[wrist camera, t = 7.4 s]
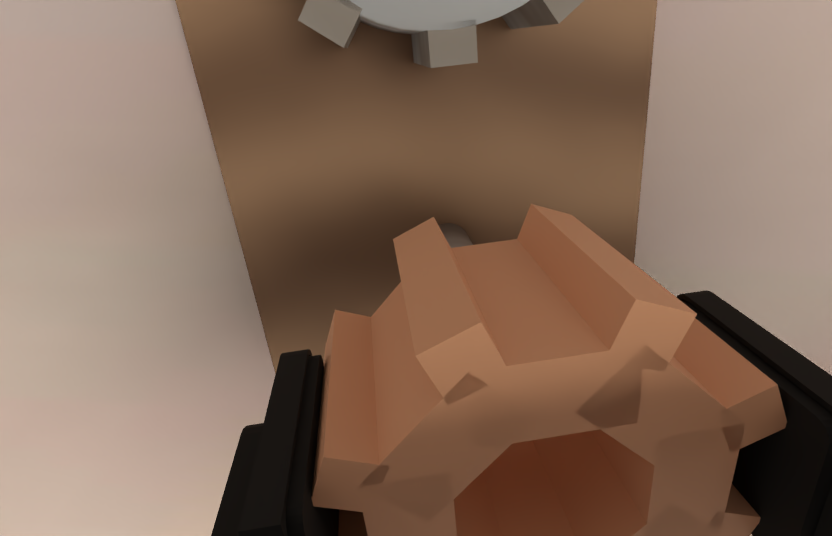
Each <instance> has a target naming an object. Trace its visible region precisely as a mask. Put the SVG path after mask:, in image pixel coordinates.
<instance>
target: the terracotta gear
mask: <svg viewBox="0 0 832 536" xmlns="http://www.w3.org/2000/svg"><path fill="white" fill-rule="evenodd" d="M393 242H394V247H395V252H396V258H397V263H398V268H399V273H400V278H401V282H400V283H399V285H398V286H397V287H396V288H395V289H394V290H393V292H392V293H391V294H390V295H389V296H388V297H387V299H386V300H385V301H384V302H383V303H382V305H381V306H380V307H379V308H378V309H377V310H376V312H375V313H374V314H373V315H372V316H371V317H368V316H364V315H359V314H354V313H349V312H344V311H339V310H335V312H334V315H333V319H332V323H331V327H330V330H329V334H328V338H327V342H326V346H325V355H324V374H323V385H322V395H321V405H320V416H319V426H318V436H317V447H316V457H315V467H314V477H313V488H312V498H311V499H312V502H313V506H315V507H323V508H332V509H339V531H338V536H749V535H750V534H751V533H752V532H753V530H754V529H755V528H756V526H757V525H758V524H759V522H760V518H761V517H760V516H759V515H758V514H757V512H756V511H755V510H754V509H753V508H752V507H751V505H750V504H749V503H748V502H747V501H746V500H745V498H744V497H743V496H742V495H741V494H740V493H739V491H738V490H737V489H736V488H735V487H734V486H733V484H732V480H733V476H734V471H735V467H736V463H737V458H738V454H739V449H741V448H743V447H745V446H747V445H750V444H752V443H754V442H756V441H758V440H761V439H763V438H765V437H767V436H769V435H771V434H774V433H776V432H778V431H780V430H782V429H785V427H786V423H787V419H786V415H785V411H784V408H783V404H782V400H781V396H780V392H779V388H778V384H776V383H775V382H774V381H773V380H771V379H770V378H769V377H768V376H766V375H765V374H764V373H763V372H761V371H760V370H759V369H758V368H757V367H755V366H754V365H753V364H752V363H750V362H749V361H748V360H747V359H745V358H744V357H743V356H742V355H740V354H739V353H738V352H737V351H735V350H734V349H733V348H732V347H730V346H729V345H728V344H727V343H726V342H724V341H723V340H722V339H721V338H719V337H718V336H717V335H716V334H714V333H713V332H712V331H711V330H709V329H708V328H707V327H706V326H704V325H703V324H702V323H701V322H699V321H698V320H697V319H696V318H695V317H696V315H697V313H696V312H694V311H693V310H692V309H690V308H689V307H688V306H687V305H685V304H684V303H683V302H682V301H680V300H679V299H678V298H677V297H675V296H674V295H673V294H671V293H670V292H669V291H668V290H666V289H665V288H664V287H663V286H661V285H660V284H659V283H658V282H656V281H655V280H654V279H652V278H651V277H650V276H649V275H647V274H646V273H645V272H644V271H642V270H641V269H640V268H639V267H637V266H636V265H635V264H633V263H632V262H631V261H630V260H628V259H627V258H626V257H625V256H623V255H622V254H621V253H620V252H618V251H617V250H616V249H614V248H613V247H612V246H611V245H609V244H608V243H607V242H606V241H604V240H603V239H602V238H601V237H599V236H598V235H597V234H595V233H594V232H593V231H592V230H590V229H589V228H588V227H587V226H585V225H584V224H583V223H582V222H580V221H579V220H578V219H576V218H575V217H574V216H573V215H570V214H567V213H563V212H559V211H556V210H552V209H548V208H545V207H541V206H537V205H534V204H531V205H530V208H529V210H528V213H527V215H526V218H525V220H524V223H523V225H522V228H521V230H520V233H519V235H518V238H517V239H513V240H506V241H498V242H491V243H484V244H476V245H469V246H462V247H455V248H451V247H450V245H449V244H448V242H447V240H446V238H445V236H444V235H443V233H442V231H441V229H440V227H439V226H438V224H437V222H436V220H435V218H434V217H432V218H430V219H429V220H427V221H425V222H423V223H421V224H419V225H418V226H416V227H414V228H412V229H410V230H409V231H407V232H405V233H403V234H401V235H399V236H398V237H396V238H394V239H393Z"/></svg>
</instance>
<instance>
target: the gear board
mask: <svg viewBox="0 0 832 536" xmlns="http://www.w3.org/2000/svg"><path fill="white" fill-rule="evenodd" d="M175 1H176V4H177V8H178V12H179V15H180V19H181V23H182V27H183V30H184V34H185V38H186V42H187V45H188V49H189V53H190V56H191V60H192V64H193V68H194V71H195V75H196V79H197V83H198V86H199V90H200V94H201V97H202V101H203V105H204V109H205V112H206V116H207V120H208V124H209V127H210V131H211V135H212V138H213V142H214V146H215V150H216V153H217V157H218V161H219V164H220V168H221V172H222V176H223V179H224V183H225V187H226V191H227V194H228V198H229V202H230V205H231V209H232V213H233V217H234V220H235V224H236V228H237V232H238V235H239V239H240V243H241V246H242V250H243V254H244V258H245V261H246V265H247V269H248V273H249V276H250V280H251V284H252V287H253V291H254V295H255V299H256V302H257V306H258V310H259V314H260V317H261V321H262V325H263V328H264V332H265V336H266V340H267V343H268V347H269V351H270V354H271V358H272V362H273V366H274V369H275V373H276V371H277V367H278V363H279V358H280V355H281V354H282V353H286V352H292V351H299V350H306V349H310V350H311V353H312V356H315V355H321V356H322V359H323V363H324V355H325V346H326V342H327V338H328V334H329V330H330V327H331V323H332V319H333V315H334V312H335V310H339V311H344V312H349V313H354V314H359V315H364V316H368V317H371V316H372V315H373V314H374V313H375V312H376V310H377V309H378V308H379V307H380V306H381V305H382V303H383V302H384V301H385V300H386V299H387V297H388V296H389V295H390V294H391V293H392V292H393V290H394V289H395V288H396V287H397V286H398V285H399V283H400V282H401V278H400V273H399V268H398V263H397V258H396V252H395V247H394V242H393V239H394V238H396V237H398V236H399V235H401V234H403V233H405V232H407V231H409V230H410V229H412V228H414V227H416V226H418V225H419V224H421V223H423V222H425V221H427V220H429V219H430V218H432V217H434V218H435V220H436V222H437V224H438V226H439V227H440V229H441V231H442V233H443V235H444V236H445V238H446V240H447V242H448V244H449V245H450V247H451V248H455V247H462V246H469V245H476V244H484V243H491V242H498V241H506V240H513V239H517V238H518V235H519V233H520V230H521V228H522V225H523V223H524V220H525V218H526V215H527V213H528V210H529V208H530V205H531V204H534V205H537V206H541V207H545V208H548V209H552V210H556V211H559V212H563V213H567V214H570V215H573V216H574V217H575V218H576V219H578V220H579V221H580V222H582V223H583V224H584V225H585V226H587V227H588V228H589V229H590V230H592V231H593V232H594V233H595V234H597V235H598V236H599V237H601V238H602V239H603V240H604V241H606V242H607V243H608V244H609V245H611V246H612V247H613V248H614V249H616V250H617V251H618V252H620V253H621V254H622V255H623V256H625V257H626V258H627V259H628V260H630V261H631V262H632V263H633V264H634V257H635V245H636V234H637V223H638V212H639V200H640V189H641V178H642V166H643V155H644V144H645V133H646V121H647V110H648V99H649V87H650V76H651V65H652V53H653V42H654V31H655V20H656V8H657V0H175Z"/></svg>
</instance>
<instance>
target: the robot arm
mask: <svg viewBox="0 0 832 536" xmlns="http://www.w3.org/2000/svg"><path fill="white" fill-rule="evenodd" d="M677 298H678V299H679V300H680V301H682V302H683V303H684V304H685V305H687V306H688V307H689V308H690V309H692V310H693V311H694V312H696V313H697V315H696V317H695V318H696V319H697V320H698V321H699V322H701V323H702V324H703V325H704V326H706V327H707V328H708V329H709V330H711V331H712V332H713V333H714V334H716V335H717V336H718V337H719V338H721V339H722V340H723V341H724V342H726V343H727V344H728V345H729V346H730V347H732V348H733V349H734V350H735V351H737V352H738V353H739V354H740V355H742V356H743V357H744V358H745V359H747V360H748V361H749V362H750V363H752V364H753V365H754V366H755V367H757V368H758V369H759V370H760V371H761V372H763V373H764V374H765V375H766V376H768V377H769V378H770V379H771V380H773V381H774V382H775V383H776V384H778V388H779V392H780V396H781V400H782V404H783V408H784V411H785V415H786V419H787V423H786V427H785V429H782V430H780V431H778V432H776V433H774V434H771V435H769V436H767V437H765V438H763V439H761V440H758V441H756V442H754V443H752V444H750V445H747V446H745V447H743V448H741V449H739V454H738V458H737V463H736V467H735V471H734V476H733V480H732V484H733V486H734V487H735V488H736V489H737V490H738V491H739V493H740V494H741V495H742V496H743V497H744V498H745V500H746V501H747V502H748V503H749V504H750V505H751V507H752V508H753V509H754V510H755V511H756V512H757V514H758V515H759V516H760V517H761V518H760V522H759V524H758V525H757V526H756V528H755V529H754V530H753V532H752V533H751V534H752V535H753V536H832V376H831V375H830V374H828V373H827V372H825V371H824V370H823V369H821V368H820V367H818V366H817V365H815V364H814V363H813V362H811V361H810V360H808V359H807V358H805V357H804V356H802V355H801V354H800V353H798V352H797V351H795V350H794V349H792V348H791V347H790V346H788V345H787V344H785V343H784V342H782V341H781V340H780V339H778V338H777V337H775V336H774V335H772V334H771V333H769V332H768V331H767V330H765V329H764V328H762V327H761V326H759V325H758V324H757V323H755V322H754V321H752V320H751V319H749V318H748V317H747V316H745V315H744V314H742V313H741V312H739V311H738V310H737V309H735V308H734V307H732V306H731V305H729V304H728V303H726V302H725V301H724V300H722V299H721V298H719V297H718V296H716V295H715V294H714V293H712V292H710V291H700V292H693V293H686V294H680V295H678V296H677ZM323 374H324V363H323V359H322V356H321V355H315V356H312V353H311V350H310V349H306V350H299V351H292V352H286V353H282V354H281V355H280V358H279V363H278V367H277V371H276V375H275V379H274V383H273V387H272V392H271V396H270V400H269V404H268V408H267V412H266V416H265V421H264V423H261V424H255V425H249V426H246V427H245V428H244V429H243V431H242V433H241V436H240V439H239V443H238V446H237V450H236V453H235V456H234V460H233V463H232V467H231V470H230V473H229V477H228V480H227V484H226V487H225V491H224V494H223V497H222V501H221V504H220V508H219V511H218V514H217V518H216V521H215V525H214V528H213V531H212V535H211V536H338V531H339V509H332V508H323V507H315V506H313V502H312V499H311V498H312V488H313V477H314V467H315V457H316V447H317V436H318V426H319V416H320V405H321V395H322V385H323Z"/></svg>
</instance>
